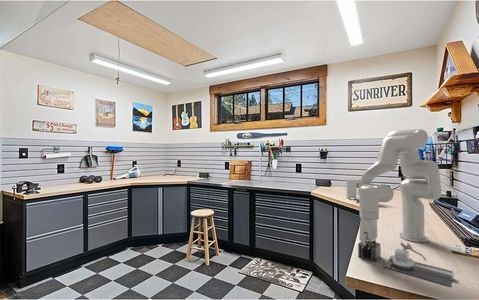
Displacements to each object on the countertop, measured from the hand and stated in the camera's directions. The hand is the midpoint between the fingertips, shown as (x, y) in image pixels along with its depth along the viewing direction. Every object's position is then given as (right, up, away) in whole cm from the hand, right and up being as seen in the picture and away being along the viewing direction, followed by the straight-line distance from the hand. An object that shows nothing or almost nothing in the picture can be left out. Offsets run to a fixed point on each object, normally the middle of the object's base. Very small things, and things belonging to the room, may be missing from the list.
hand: (369, 254), depth 105 cm
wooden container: (+58, -3, +113) cm, 127 cm away
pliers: (+21, -2, +7) cm, 22 cm away
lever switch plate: (+12, -1, -12) cm, 17 cm away
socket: (0, -1, 0) cm, 1 cm away
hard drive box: (+61, -4, +137) cm, 150 cm away
